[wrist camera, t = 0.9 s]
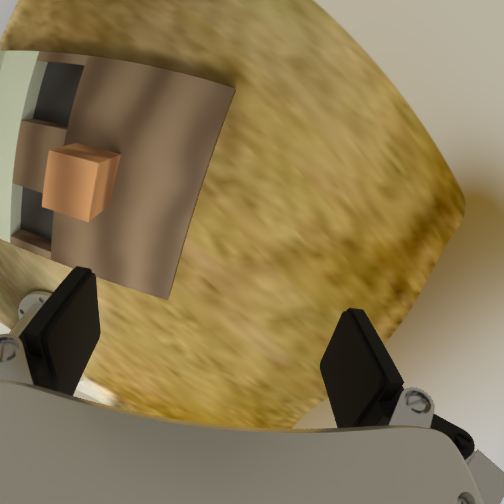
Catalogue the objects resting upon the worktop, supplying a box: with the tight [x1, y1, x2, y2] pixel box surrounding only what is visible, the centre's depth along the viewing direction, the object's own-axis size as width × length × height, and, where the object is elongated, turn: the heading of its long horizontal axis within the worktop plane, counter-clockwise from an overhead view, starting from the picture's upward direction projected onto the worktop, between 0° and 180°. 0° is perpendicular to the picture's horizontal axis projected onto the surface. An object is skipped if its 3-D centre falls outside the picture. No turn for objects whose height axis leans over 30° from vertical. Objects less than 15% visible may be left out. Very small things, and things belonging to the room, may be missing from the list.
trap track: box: [10, 51, 236, 300], centre depth 27 cm, size 21×22×2 cm
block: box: [42, 143, 121, 222], centre depth 23 cm, size 5×5×5 cm
